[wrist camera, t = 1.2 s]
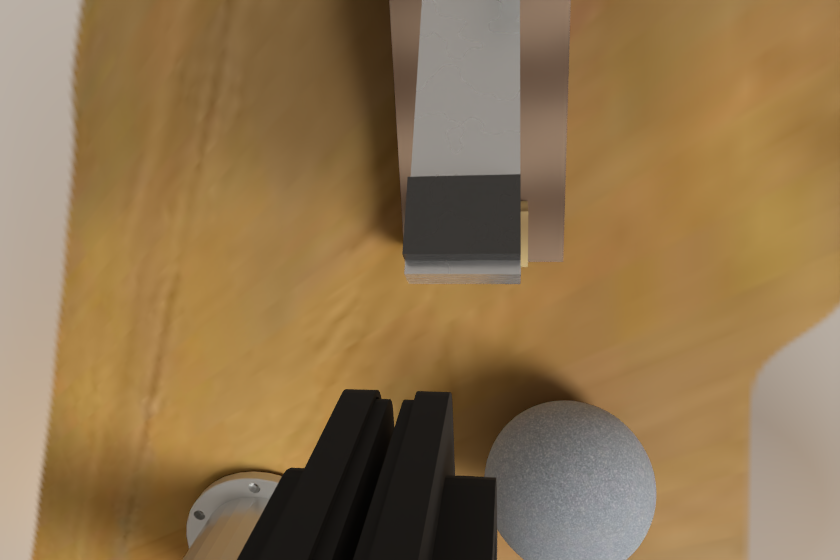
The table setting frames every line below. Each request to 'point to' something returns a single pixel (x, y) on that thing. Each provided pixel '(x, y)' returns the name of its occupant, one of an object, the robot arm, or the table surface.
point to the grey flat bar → (466, 146)
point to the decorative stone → (571, 484)
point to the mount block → (539, 115)
